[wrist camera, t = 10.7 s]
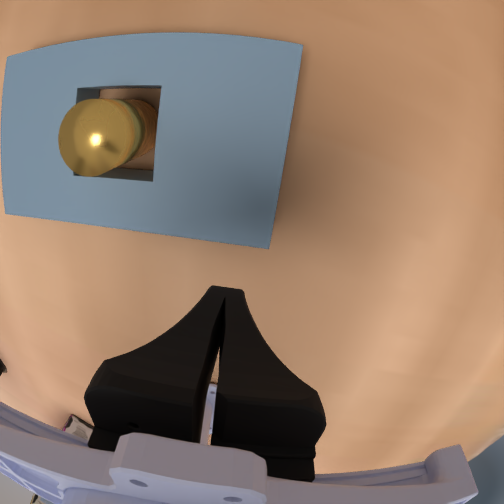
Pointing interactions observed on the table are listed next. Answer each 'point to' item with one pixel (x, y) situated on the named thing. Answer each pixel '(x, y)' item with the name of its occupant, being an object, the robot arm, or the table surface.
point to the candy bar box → (75, 428)
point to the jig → (168, 133)
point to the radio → (2, 368)
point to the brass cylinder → (106, 134)
